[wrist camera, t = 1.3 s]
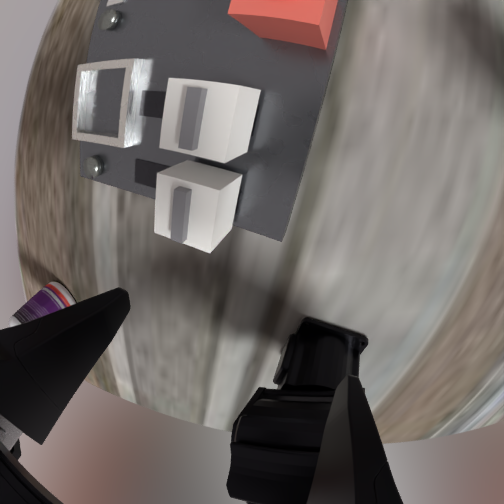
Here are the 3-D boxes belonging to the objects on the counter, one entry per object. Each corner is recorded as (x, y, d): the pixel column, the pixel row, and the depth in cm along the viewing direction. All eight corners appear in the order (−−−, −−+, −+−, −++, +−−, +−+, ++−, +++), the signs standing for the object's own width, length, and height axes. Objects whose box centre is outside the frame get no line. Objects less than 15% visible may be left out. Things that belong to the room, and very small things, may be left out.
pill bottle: (46, 274, 37) (-9, 323, 25) (70, 284, 34) (7, 342, 23) (63, 310, 41) (15, 359, 29) (88, 323, 39) (36, 379, 27)
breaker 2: (242, 174, 17) (214, 194, 13) (231, 228, 19) (205, 258, 16) (187, 159, 17) (150, 175, 14) (181, 212, 19) (149, 236, 16)
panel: (353, -25, 9) (353, -39, 7) (284, 234, 20) (278, 248, 18) (115, -18, 12) (99, -22, 10) (89, 172, 23) (73, 179, 21)
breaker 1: (261, 90, 14) (235, 84, 10) (247, 152, 16) (219, 165, 12) (200, 80, 14) (162, 77, 11) (190, 138, 16) (152, 149, 13)
